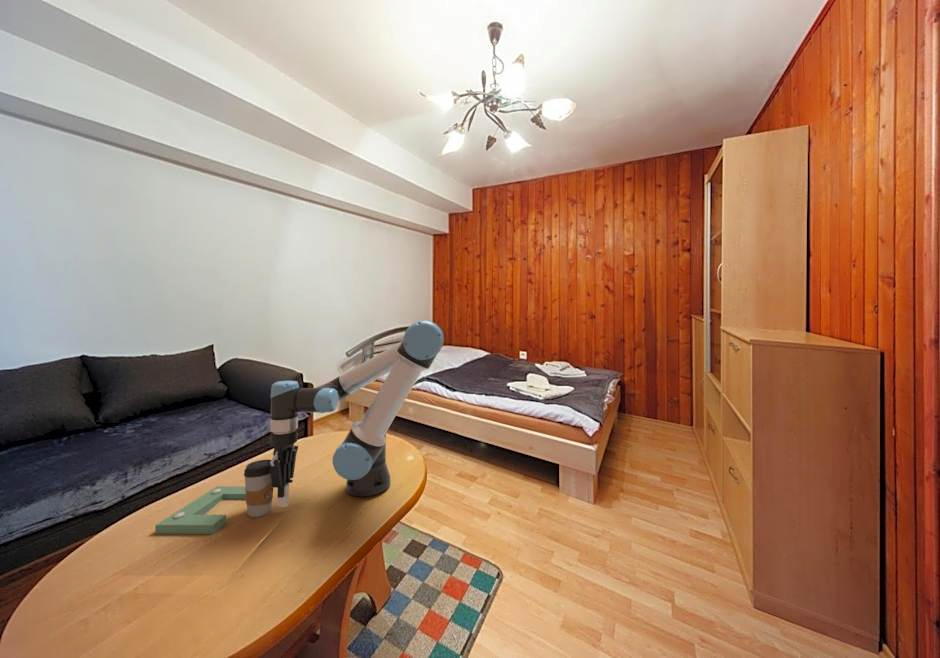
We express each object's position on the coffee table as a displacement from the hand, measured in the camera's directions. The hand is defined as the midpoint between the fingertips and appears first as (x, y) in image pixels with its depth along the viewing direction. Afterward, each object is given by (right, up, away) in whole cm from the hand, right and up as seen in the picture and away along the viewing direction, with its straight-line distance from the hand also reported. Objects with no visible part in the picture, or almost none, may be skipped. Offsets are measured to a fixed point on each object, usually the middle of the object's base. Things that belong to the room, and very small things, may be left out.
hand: (283, 505), depth 101 cm
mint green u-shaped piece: (-22, -2, 0) cm, 22 cm away
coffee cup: (-7, -2, 0) cm, 8 cm away
